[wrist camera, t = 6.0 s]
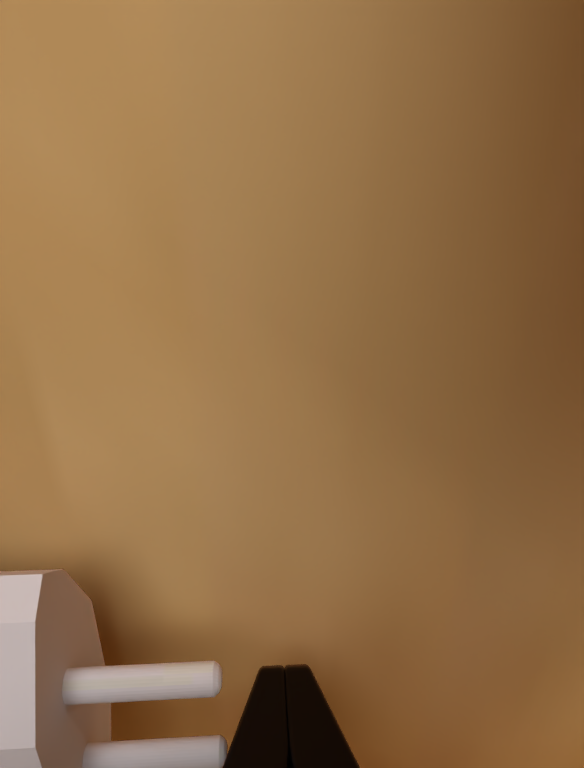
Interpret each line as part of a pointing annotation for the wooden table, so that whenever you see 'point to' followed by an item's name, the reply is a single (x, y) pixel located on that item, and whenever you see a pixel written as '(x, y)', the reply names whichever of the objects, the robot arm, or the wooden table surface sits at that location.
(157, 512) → the wooden table surface
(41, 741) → the charger
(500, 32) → the wooden table surface
